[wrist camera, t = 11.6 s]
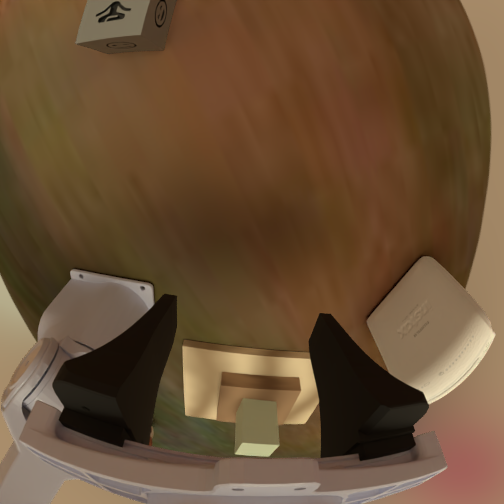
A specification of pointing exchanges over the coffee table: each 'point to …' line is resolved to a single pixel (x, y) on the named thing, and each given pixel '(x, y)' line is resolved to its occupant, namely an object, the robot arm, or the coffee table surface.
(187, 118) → the coffee table surface
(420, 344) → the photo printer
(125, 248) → the coffee table surface
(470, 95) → the coffee table surface
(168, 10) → the dice cube
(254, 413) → the sage block
